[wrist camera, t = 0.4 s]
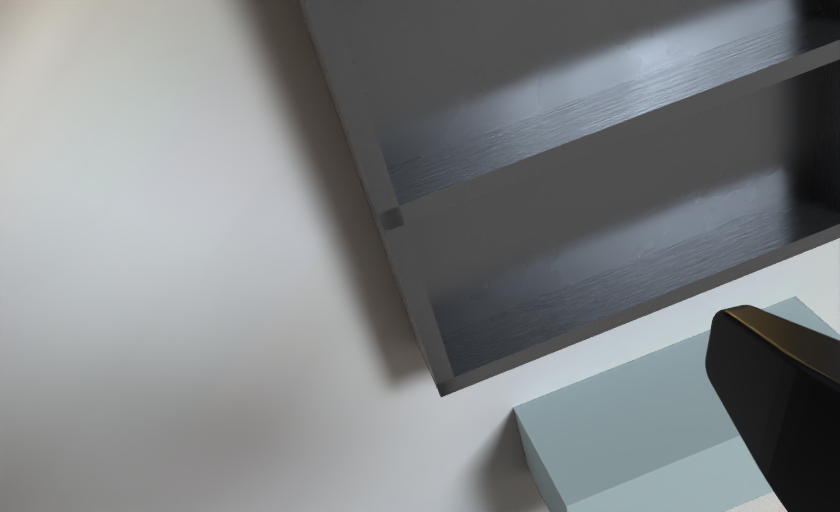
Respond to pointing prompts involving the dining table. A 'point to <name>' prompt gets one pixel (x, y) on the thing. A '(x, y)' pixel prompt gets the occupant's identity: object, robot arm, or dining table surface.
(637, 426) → the blanking panel
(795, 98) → the grey compartment tray
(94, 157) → the dining table surface
